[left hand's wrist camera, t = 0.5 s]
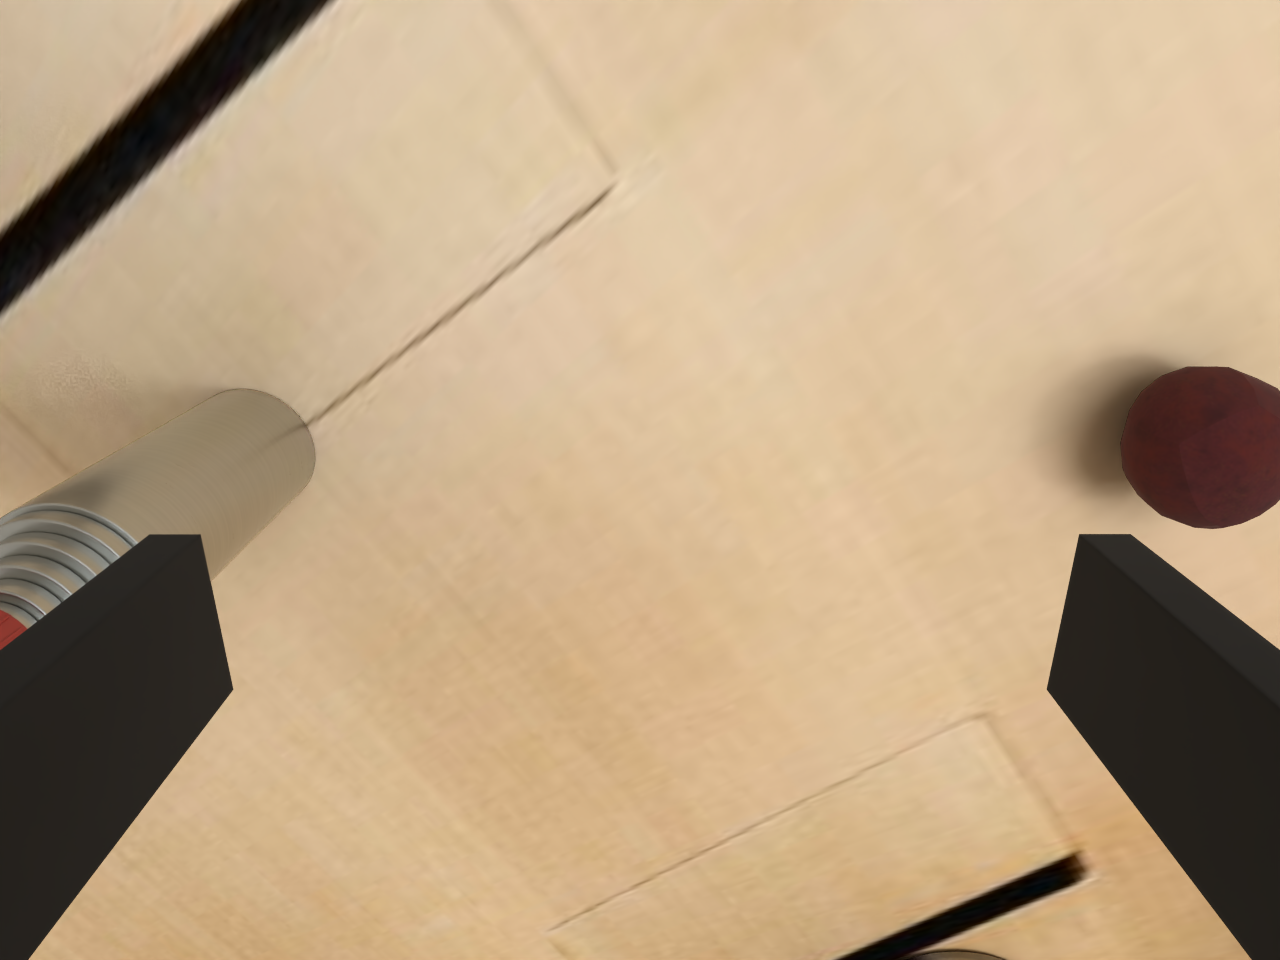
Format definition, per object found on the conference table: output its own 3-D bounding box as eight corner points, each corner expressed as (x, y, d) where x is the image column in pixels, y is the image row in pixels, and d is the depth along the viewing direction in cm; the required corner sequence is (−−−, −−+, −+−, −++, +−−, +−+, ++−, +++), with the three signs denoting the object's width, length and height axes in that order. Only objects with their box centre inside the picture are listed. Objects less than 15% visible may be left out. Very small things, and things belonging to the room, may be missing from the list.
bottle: (170, 464, 44) (-218, 721, 24) (221, 364, 42) (-156, 554, 22) (282, 527, 45) (2, 819, 25) (337, 433, 43) (79, 670, 24)
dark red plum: (1125, 516, 45) (1208, 578, 38) (1067, 400, 43) (1145, 445, 36) (1259, 444, 43) (1369, 496, 37) (1207, 320, 41) (1315, 351, 35)
